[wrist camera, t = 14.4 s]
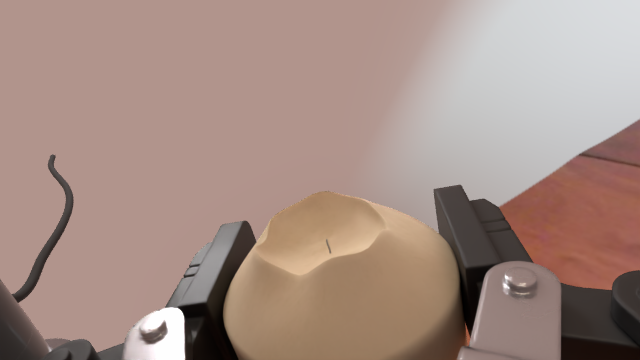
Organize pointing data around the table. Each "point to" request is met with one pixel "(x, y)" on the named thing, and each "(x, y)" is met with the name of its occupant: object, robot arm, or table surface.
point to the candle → (346, 287)
